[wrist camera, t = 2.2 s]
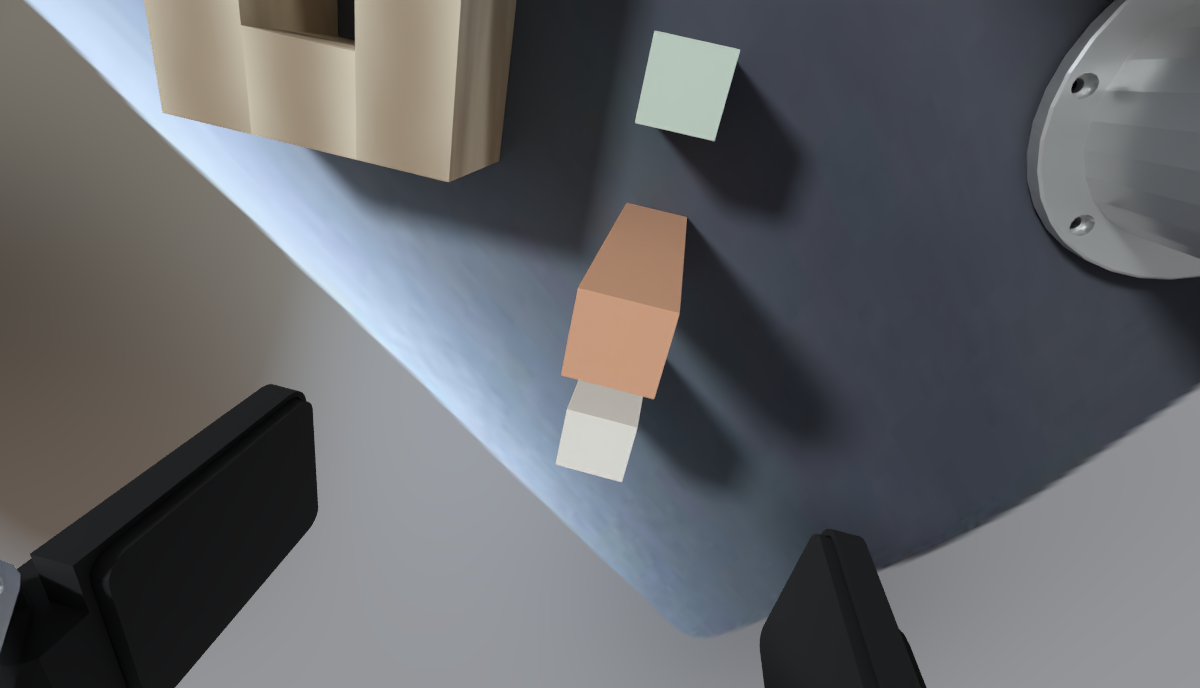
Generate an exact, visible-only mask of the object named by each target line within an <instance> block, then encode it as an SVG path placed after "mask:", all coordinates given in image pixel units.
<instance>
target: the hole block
mask: <svg viewBox="0 0 1200 688" xmlns="http://www.w3.org/2000/svg"><path fill="white" fill-rule="evenodd" d="M516 1H517V0H355V40H352V39H347V38H343V37H339V36H338V5H337V0H144V4H145V10H146V16H147V22H148V28H149V34H150V40H151V45H152V51H153V57H154V63H155V69H156V75H157V81H158V87H159V93H160V99H161V105H162V111H163V113H166V114H170V115H174V116H179V117H183V118H187V119H191V120H195V121H199V122H203V123H207V124H211V125H216V126H220V127H224V128H228V129H232V130H236V131H240V132H244V133H248V134H253V135H257V136H261V137H265V138H269V139H273V140H277V141H281V142H285V143H289V144H294V145H298V146H302V147H306V148H310V149H314V150H318V151H322V152H326V153H331V154H335V155H339V156H343V157H347V158H351V159H355V160H359V161H363V162H367V163H372V164H376V165H380V166H384V167H388V168H392V169H396V170H400V171H404V172H409V173H413V174H417V175H421V176H425V177H429V178H433V179H437V180H441V181H445V182H451V181H453V180H456V179H458V178H460V177H463V176H465V175H468V174H470V173H472V172H475V171H477V170H480V169H482V168H484V167H487V166H489V165H492V164H494V163H496V162H499V159H500V150H501V140H502V131H503V122H504V113H505V103H506V94H507V85H508V75H509V66H510V57H511V48H512V38H513V29H514V20H515V11H516Z"/></svg>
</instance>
